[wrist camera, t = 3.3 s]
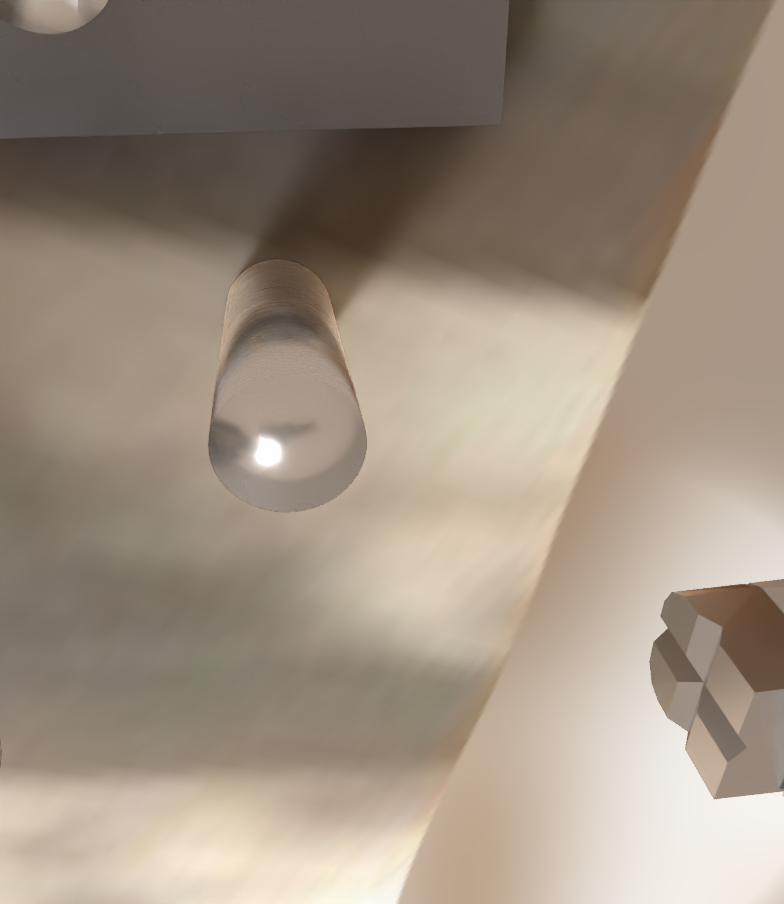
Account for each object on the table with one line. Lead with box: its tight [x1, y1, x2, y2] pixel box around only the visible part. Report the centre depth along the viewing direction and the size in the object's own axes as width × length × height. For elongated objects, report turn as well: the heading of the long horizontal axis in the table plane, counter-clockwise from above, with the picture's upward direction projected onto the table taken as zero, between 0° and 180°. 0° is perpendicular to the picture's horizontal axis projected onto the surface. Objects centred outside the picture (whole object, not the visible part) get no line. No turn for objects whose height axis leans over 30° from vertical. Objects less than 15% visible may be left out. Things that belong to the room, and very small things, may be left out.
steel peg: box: [208, 259, 367, 512], centre depth 17 cm, size 3×3×8 cm
